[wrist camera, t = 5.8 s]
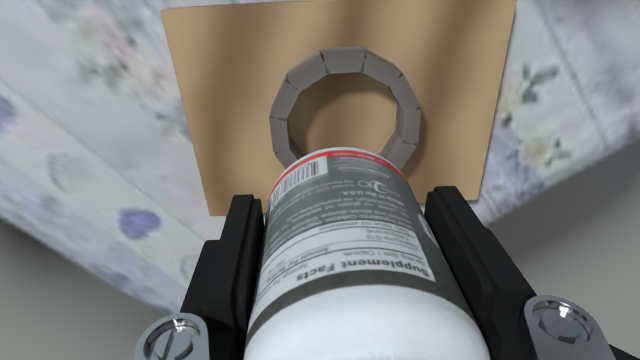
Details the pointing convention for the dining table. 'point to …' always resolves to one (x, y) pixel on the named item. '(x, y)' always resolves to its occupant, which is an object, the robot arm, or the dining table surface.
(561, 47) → the dining table surface
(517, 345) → the robot arm
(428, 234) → the pill bottle
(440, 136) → the ring jig
